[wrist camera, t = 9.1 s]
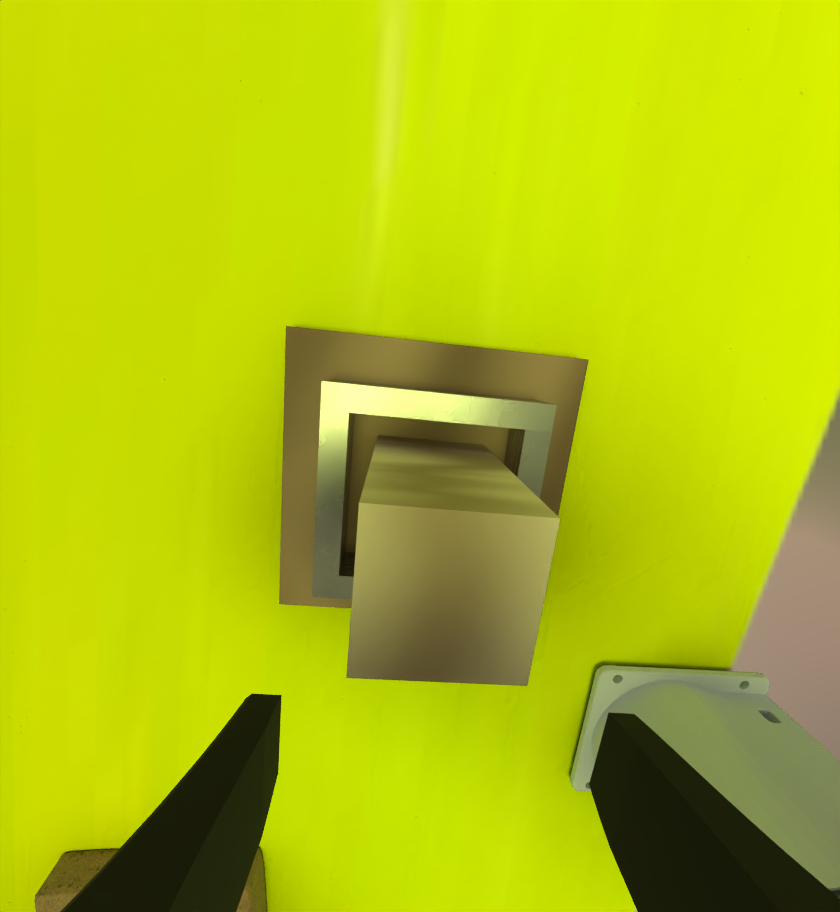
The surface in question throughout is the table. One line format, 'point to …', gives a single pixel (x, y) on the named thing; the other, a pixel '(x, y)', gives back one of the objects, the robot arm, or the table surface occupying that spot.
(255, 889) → the candle holder
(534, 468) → the gray square frame
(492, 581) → the tan rectangular block
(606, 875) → the table surface
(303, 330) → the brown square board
